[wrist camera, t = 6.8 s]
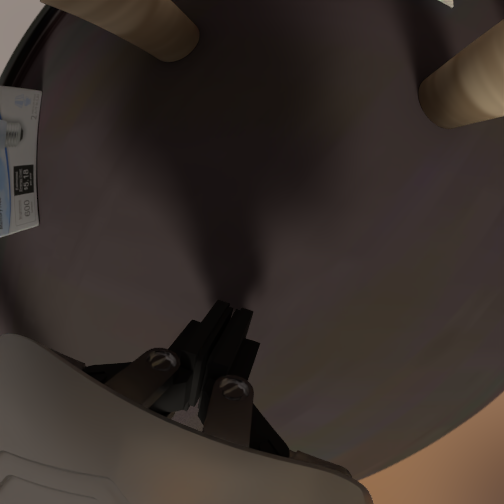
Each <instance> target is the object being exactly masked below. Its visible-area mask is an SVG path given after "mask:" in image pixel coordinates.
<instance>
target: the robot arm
mask: <svg viewBox="0 0 504 504" xmlns="http://www.w3.org/2000/svg"><path fill="white" fill-rule="evenodd" d="M229 306H230V303H227V302H224V301H221V300H217V302H216V303H215V304H214V306H213V307H212V308H211V310H210V311H209V313H208V314H207V315H206V317H205V318H204V319H203V321H202V322H201V323H200V322H198V321H195V320H192V321H190V323H189V324H188V325H187V326H186V328H185V329H184V330H183V331H182V333H181V334H180V335H179V336H178V338H177V339H176V340H175V341H174V342H173V344H172V345H171V346H170V347H169V349H165V348H153V349H150V350H148V351H146V352H145V353H144V354H142V355H141V356H140V357H139V358H137V359H136V360H135V361H133V362H128V363H117V364H103V365H92V366H88V367H86V366H85V363H83V362H80V361H78V360H75V359H73V358H70V357H68V356H66V355H63V354H61V353H59V352H57V351H54V350H52V349H49V348H47V347H46V346H44V345H42V344H40V343H39V342H37V341H34V340H32V339H30V338H28V337H25V336H22V335H18V334H12V333H10V334H4V335H1V336H0V504H373V500H372V497H371V495H370V493H369V491H368V490H367V489H366V488H365V487H364V486H363V485H362V484H361V483H359V482H358V481H356V480H355V479H353V478H352V476H351V474H350V472H349V471H348V470H347V469H346V468H344V467H342V466H339V465H336V464H333V463H330V462H327V461H324V460H322V459H319V458H316V457H314V456H311V455H308V454H306V453H303V452H301V451H297V452H294V451H292V450H289V448H288V446H287V445H286V443H285V442H284V441H283V440H282V439H281V437H280V436H279V435H278V434H277V433H276V431H275V430H274V429H273V428H272V427H271V425H270V424H269V423H268V422H267V420H266V419H265V418H264V417H263V415H262V414H261V413H260V412H259V410H258V409H257V408H256V406H255V405H254V404H253V397H254V391H253V387H252V386H251V384H250V383H249V382H248V378H249V375H250V372H251V369H252V366H253V363H254V360H255V357H256V354H257V351H258V348H259V345H260V343H258V342H255V341H252V340H249V339H246V335H247V332H248V328H249V325H250V322H251V318H252V315H253V311H251V310H248V309H244V308H241V310H238V309H236V310H235V312H234V314H233V316H232V318H231V315H232V311H233V308H232V307H229ZM199 397H200V399H199ZM198 399H199V404H198V408H199V412H198V417H199V419H200V420H201V422H202V424H203V425H204V427H203V431H202V432H201V431H198V430H195V429H193V428H190V427H188V426H186V425H183V424H181V423H178V422H176V421H174V420H171V418H172V417H173V416H174V414H175V411H179V410H185V411H187V410H188V408H189V407H190V405H191V406H195V405H196V403H197V401H198Z"/></svg>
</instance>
